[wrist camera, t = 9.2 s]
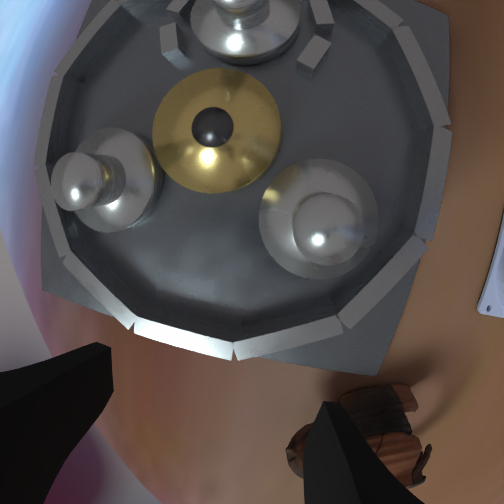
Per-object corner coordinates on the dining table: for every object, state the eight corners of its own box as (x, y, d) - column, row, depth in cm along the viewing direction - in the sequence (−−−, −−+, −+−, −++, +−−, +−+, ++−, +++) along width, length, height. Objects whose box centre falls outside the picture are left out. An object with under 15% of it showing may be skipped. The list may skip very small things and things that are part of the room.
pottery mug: (440, 377, 19) (460, 471, 13) (371, 418, 25) (380, 492, 19) (311, 372, 17) (320, 509, 11) (256, 415, 23) (256, 508, 17)
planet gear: (312, 0, 13) (317, -46, 8) (280, 77, 15) (276, 39, 10) (219, -19, 13) (201, -63, 9) (182, 53, 15) (149, 18, 10)
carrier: (442, 21, 13) (479, -15, 7) (372, 368, 19) (393, 422, 13) (108, -17, 14) (71, -48, 9) (50, 285, 20) (1, 311, 15)
